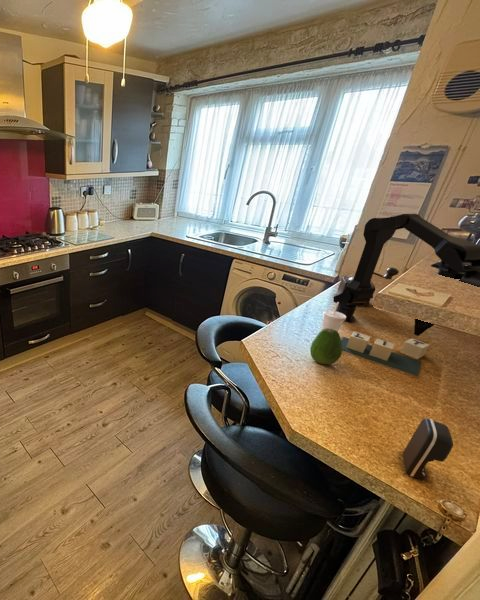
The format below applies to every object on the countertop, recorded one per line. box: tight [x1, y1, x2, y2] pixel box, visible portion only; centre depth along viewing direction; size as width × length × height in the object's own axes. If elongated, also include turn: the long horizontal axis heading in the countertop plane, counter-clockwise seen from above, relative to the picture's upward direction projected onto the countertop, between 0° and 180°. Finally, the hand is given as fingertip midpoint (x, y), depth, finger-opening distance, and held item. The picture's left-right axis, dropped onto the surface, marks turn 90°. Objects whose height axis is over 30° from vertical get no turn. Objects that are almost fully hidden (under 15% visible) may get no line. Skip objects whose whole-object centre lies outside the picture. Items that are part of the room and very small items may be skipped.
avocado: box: [310, 328, 343, 365], centre depth 99 cm, size 8×8×12 cm
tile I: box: [369, 338, 395, 361], centre depth 103 cm, size 4×4×5 cm
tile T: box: [399, 338, 430, 360], centre depth 104 cm, size 4×4×5 cm
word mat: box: [341, 336, 422, 377], centre depth 104 cm, size 11×20×1 cm, turn 42°
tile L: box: [347, 331, 371, 353], centre depth 107 cm, size 4×4×5 cm
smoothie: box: [320, 302, 346, 333], centre depth 111 cm, size 6×6×14 cm
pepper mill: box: [335, 267, 400, 308], centre depth 138 cm, size 16×11×18 cm
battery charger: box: [402, 417, 454, 480], centre depth 65 cm, size 7×4×11 cm, turn 142°
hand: (421, 331), depth 101 cm, fingers open, 9 cm apart
